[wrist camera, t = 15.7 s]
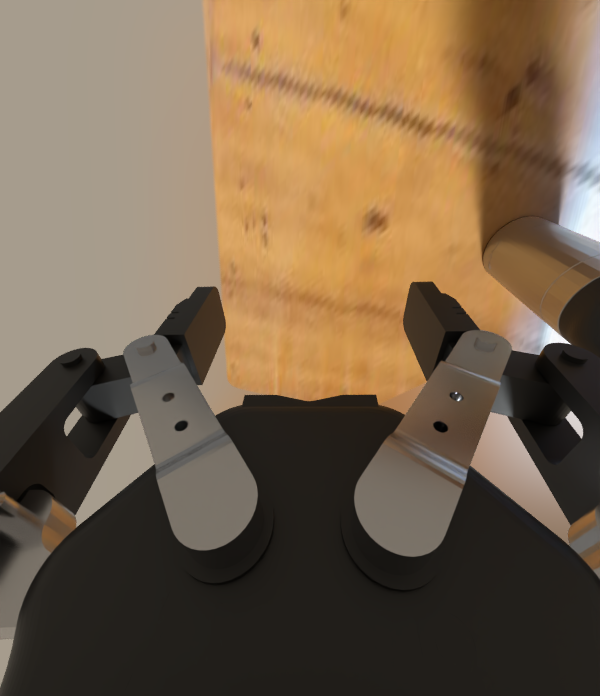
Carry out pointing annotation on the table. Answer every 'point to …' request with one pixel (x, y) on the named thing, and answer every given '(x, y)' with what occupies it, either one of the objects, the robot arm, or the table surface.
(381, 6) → the table surface
